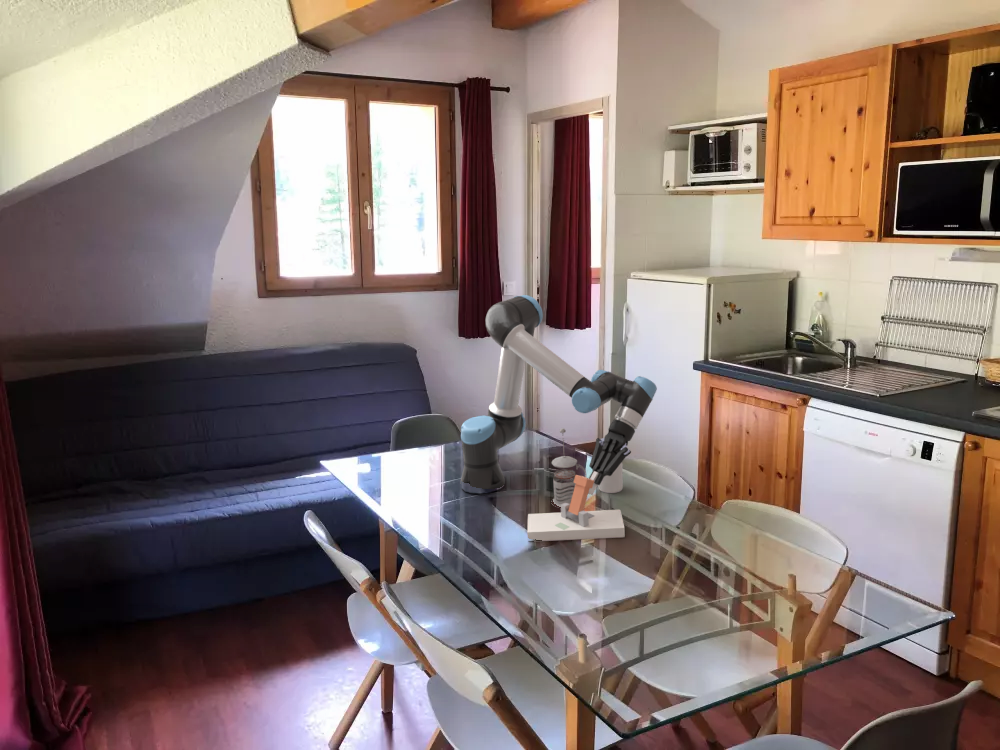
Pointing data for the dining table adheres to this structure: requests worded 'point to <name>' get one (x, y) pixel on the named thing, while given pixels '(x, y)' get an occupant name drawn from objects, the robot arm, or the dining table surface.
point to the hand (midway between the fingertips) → (588, 492)
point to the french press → (564, 477)
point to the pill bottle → (613, 481)
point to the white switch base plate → (575, 525)
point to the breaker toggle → (579, 496)
